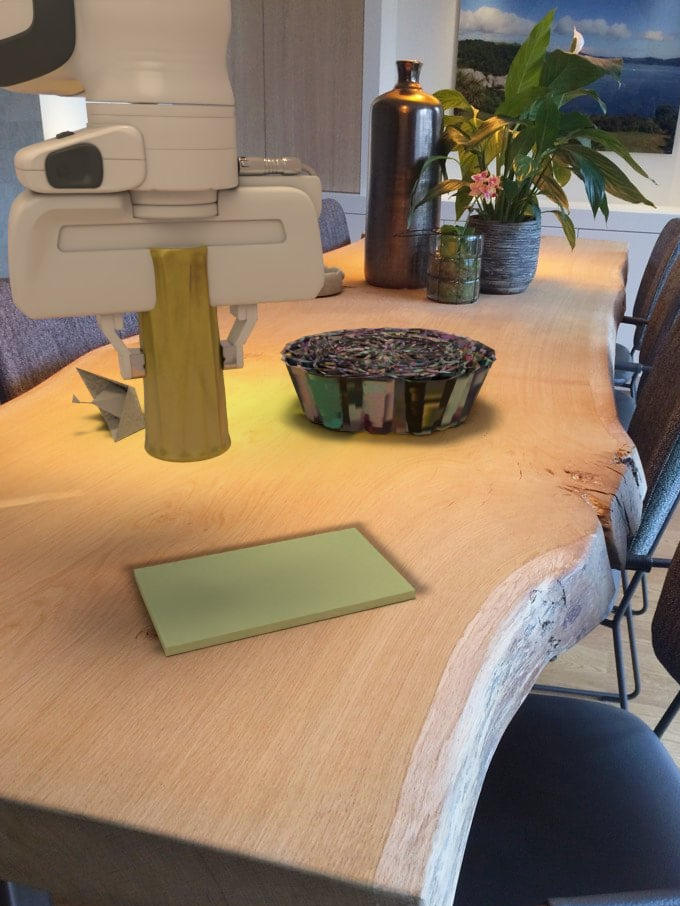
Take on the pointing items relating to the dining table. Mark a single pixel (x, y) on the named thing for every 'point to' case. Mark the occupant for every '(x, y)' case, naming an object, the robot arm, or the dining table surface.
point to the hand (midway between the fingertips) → (182, 372)
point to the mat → (266, 589)
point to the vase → (183, 362)
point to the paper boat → (114, 404)
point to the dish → (332, 281)
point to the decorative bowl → (387, 378)
